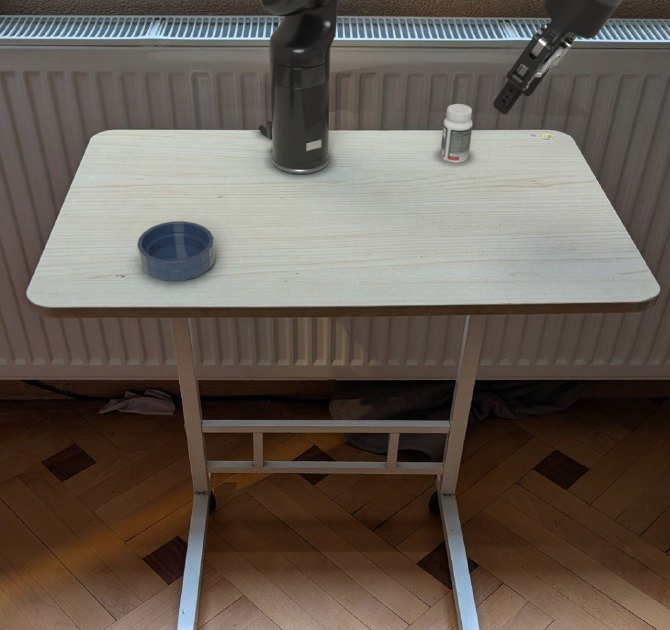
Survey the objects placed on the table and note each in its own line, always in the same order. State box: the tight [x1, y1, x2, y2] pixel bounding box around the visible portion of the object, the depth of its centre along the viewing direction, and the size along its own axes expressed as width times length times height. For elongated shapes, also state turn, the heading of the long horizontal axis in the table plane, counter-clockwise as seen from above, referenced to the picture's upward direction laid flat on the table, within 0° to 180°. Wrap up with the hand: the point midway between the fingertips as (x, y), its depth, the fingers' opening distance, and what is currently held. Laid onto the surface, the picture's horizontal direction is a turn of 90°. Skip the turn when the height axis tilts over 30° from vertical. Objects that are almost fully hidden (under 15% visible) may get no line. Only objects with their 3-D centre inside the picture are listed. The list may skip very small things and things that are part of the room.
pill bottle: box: [439, 103, 473, 164], centre depth 137 cm, size 5×5×8 cm
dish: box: [137, 220, 216, 282], centre depth 115 cm, size 10×10×4 cm
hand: (511, 100), depth 105 cm, fingers open, 8 cm apart
